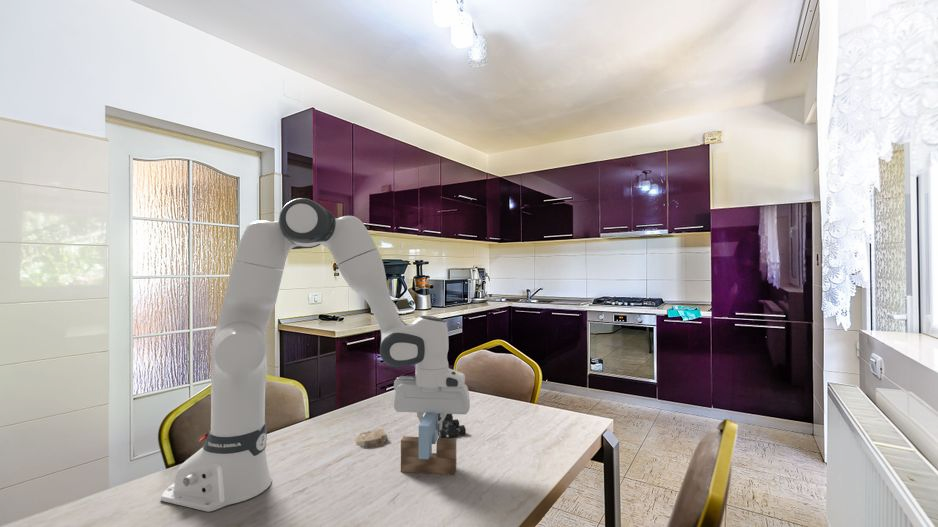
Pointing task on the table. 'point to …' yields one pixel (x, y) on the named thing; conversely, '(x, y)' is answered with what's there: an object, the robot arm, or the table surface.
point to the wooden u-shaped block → (437, 461)
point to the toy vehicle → (450, 427)
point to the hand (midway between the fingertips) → (431, 428)
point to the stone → (371, 438)
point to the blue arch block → (427, 434)
